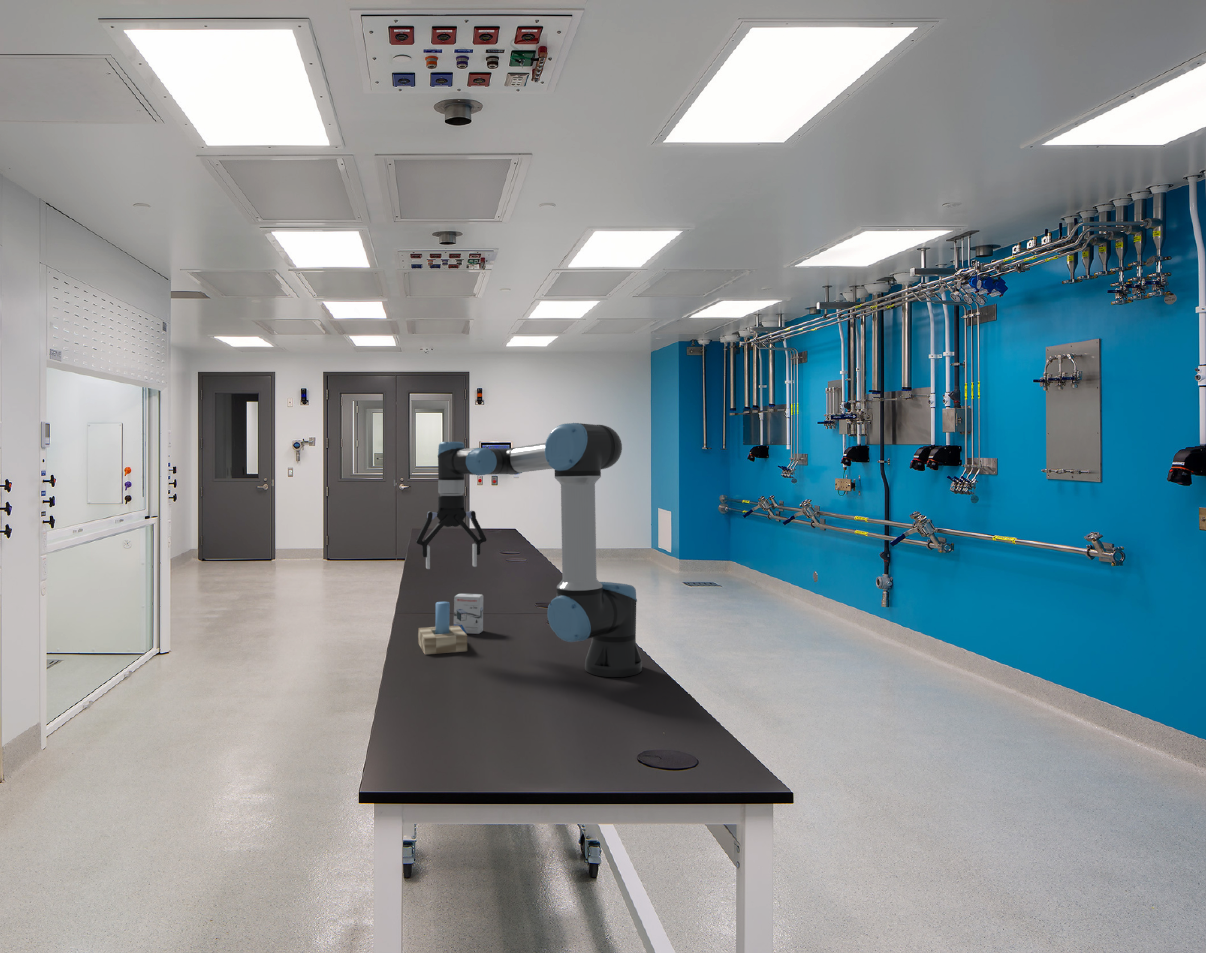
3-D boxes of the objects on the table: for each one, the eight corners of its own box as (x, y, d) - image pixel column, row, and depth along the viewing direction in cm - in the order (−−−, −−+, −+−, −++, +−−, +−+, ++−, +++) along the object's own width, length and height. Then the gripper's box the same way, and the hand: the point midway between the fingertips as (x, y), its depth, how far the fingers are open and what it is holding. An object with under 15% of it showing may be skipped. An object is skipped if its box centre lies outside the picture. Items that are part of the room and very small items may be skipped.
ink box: (452, 633, 245) (453, 596, 244) (457, 629, 250) (457, 593, 249) (479, 634, 244) (479, 597, 243) (483, 630, 249) (483, 594, 248)
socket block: (467, 651, 222) (467, 635, 222) (424, 654, 218) (424, 638, 218) (458, 640, 236) (458, 625, 235) (418, 643, 231) (418, 628, 231)
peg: (450, 648, 226) (450, 603, 225) (436, 649, 224) (436, 604, 224) (448, 644, 230) (448, 601, 229) (434, 645, 228) (434, 602, 228)
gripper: (490, 493, 234) (490, 563, 234) (405, 494, 224) (406, 567, 225) (496, 494, 227) (496, 566, 227) (409, 495, 217) (409, 571, 218)
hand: (451, 567), depth 226 cm, fingers open, 13 cm apart
